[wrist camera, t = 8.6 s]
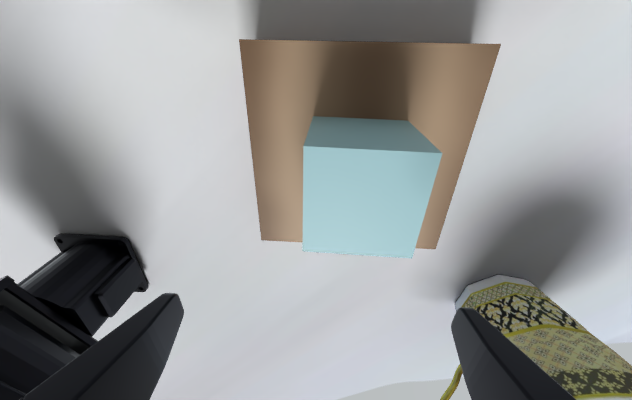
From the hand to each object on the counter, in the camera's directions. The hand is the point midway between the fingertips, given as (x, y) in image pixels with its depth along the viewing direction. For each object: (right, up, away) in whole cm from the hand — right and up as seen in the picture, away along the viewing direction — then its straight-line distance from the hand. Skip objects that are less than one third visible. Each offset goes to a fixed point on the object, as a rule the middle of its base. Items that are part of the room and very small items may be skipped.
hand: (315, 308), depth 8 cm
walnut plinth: (+3, +7, +9) cm, 12 cm away
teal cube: (+2, +6, +7) cm, 9 cm away
